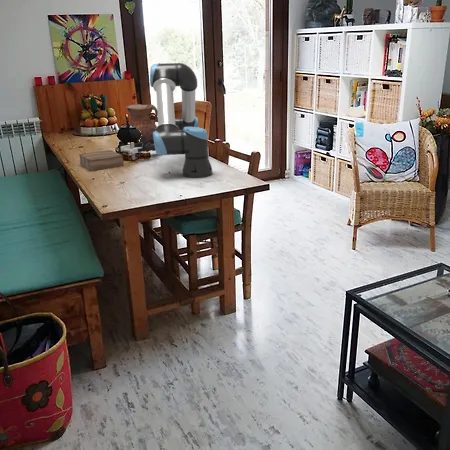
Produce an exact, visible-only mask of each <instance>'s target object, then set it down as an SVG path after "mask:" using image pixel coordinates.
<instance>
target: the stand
mask: <svg viewBox="0 0 450 450" xmlns="http://www.w3.org/2000/svg"><path fill="white" fill-rule="evenodd" d="M79 162H80V166H81V167H83V168H85V169H87V170H88V171H89V172H95V171H102V170H108V168H109V169H115V167H116V168H121V166H122V167H124V158H123V154H120V153H118V152H116V151H114V150H111V149H106V150H100V151H93V152H87V153H80V154H79Z"/></svg>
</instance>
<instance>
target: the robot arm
mask: <svg viewBox="0 0 450 450" xmlns="http://www.w3.org/2000/svg"><path fill="white" fill-rule="evenodd" d="M149 71H150V72H149V75H150V76H149V82H150V83H149V85H150V87H151V88H153V90H154V92H156V109H157V111H158V116H157V125H156V126H157V127H156V131H154V132H153V138H150V139H149V141H148V142H139V143H134V148H133V149H132V153H131V155H132V154H135V155H136V154H138V153H142V152H143V153H144V152H146V153H148V152H151V151H152V152H155V153H156V154H157V155H158V156H173V155H174V156H175V155H184V163H183V167H182V171H181V172H182V176H184V177H186V178H193V179H194V178H196V179H198V178H205V177H208V176H209V177H210V176H211V175H213V168H212V165H211V162H210V159H209V145H208V144H209V143H208V140H209V137H208V131H207V130H206V129H205V128H202V127H199V118H198V117H197V116H196V90H197V89H198V79H197V75H196V73H195V72H194V71H193V69H192V68H191V67H190V66H189V65H187V64H186V63H182V62H177V63H176V62H174V63H171V62H170V63H153V64H152V65H151V66H150V70H149ZM176 87H179V88H180V89H181V109H182V111H181V112H182V113H181V115H182V117H175V116H176V115H175V103H174V102H175V101H174V92H175V90H176ZM136 147H137V148H136ZM124 149H131V143H127V145H122V146H120V152H124Z"/></svg>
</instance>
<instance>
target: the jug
mask: <svg viewBox="0 0 450 450" xmlns="http://www.w3.org/2000/svg"><path fill="white" fill-rule="evenodd" d="M125 109H126V110H127V112H128V113H129V121H128V123H129V125H130V126H132V127H136V128H137V129H138V130H140V131H141V135H142V136H141V139H140V142H148V141H149V139H150V138H153V132H154V131H156V127H157V126H158V125H157V124H156V122H157V120H158V111H157V106H155V105H154V104H139V103H137V104H136V103H135V104H129V105H126V106H125ZM152 111H154V117H153V118H151V112H152Z"/></svg>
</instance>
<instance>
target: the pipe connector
mask: <svg viewBox="0 0 450 450" xmlns="http://www.w3.org/2000/svg"><path fill="white" fill-rule="evenodd" d="M130 144H131V149H124V151H123V152H125V153H128V155H131V159H132V160H136V153H135V154H132V149H133V148H134V142H131V143H130ZM136 148H137V147H136Z"/></svg>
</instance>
